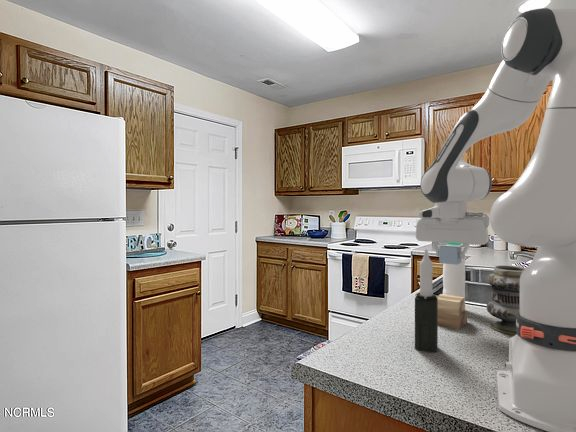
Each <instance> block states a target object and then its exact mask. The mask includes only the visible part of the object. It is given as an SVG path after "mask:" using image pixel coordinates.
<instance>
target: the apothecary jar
mask: <svg viewBox="0 0 576 432" xmlns="http://www.w3.org/2000/svg"><path fill="white" fill-rule="evenodd" d="M525 268H526V267H523V266H519V265H508V264H507V265H503V264H501V265H500V264H499V265H495V266H494V267H493V271H492V273H490V274H489V275H488V276H487V279H486V280H487V283H488V284H489V285H490V286H491V298H490V299H491V300H489V301H488V302H487V303H486V306H485V307H486V311H487V312H488V313H489V314H490V315H491V316H493V317H494V318H496V319H498V320H499V321H495V322H492V323H490V325H489V326H490V328H491V329H493V330H495V331H497V332H500V333H502V334H507V335H513V336H515V335H516V334H517V333H516V320H517V313H519V309H520V276H521V274H522V272H523V271H524V269H525Z"/></svg>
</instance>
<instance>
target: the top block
mask: <svg viewBox="0 0 576 432" xmlns="http://www.w3.org/2000/svg"><path fill="white" fill-rule="evenodd" d="M436 297H437V298H438V312H439V313H445V314H451V315H456V316H459V315H460V314H461V313H462V312H463V311H464V310H466V296H465V297H458V296H451V295H444V294H443V293H440V294H439V295H436Z"/></svg>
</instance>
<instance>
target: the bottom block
mask: <svg viewBox="0 0 576 432" xmlns="http://www.w3.org/2000/svg"><path fill="white" fill-rule="evenodd" d="M467 323H468V309H465V310H464V311H463V312H462V313H461V314H460V315H459V316H456V315H451V314H445V313H439V312H438V326H441V327H442V326H443V327H447V328H452V329H458V330H460V329H462V328H463V327H464V326H465V325H466V324H467Z"/></svg>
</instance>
